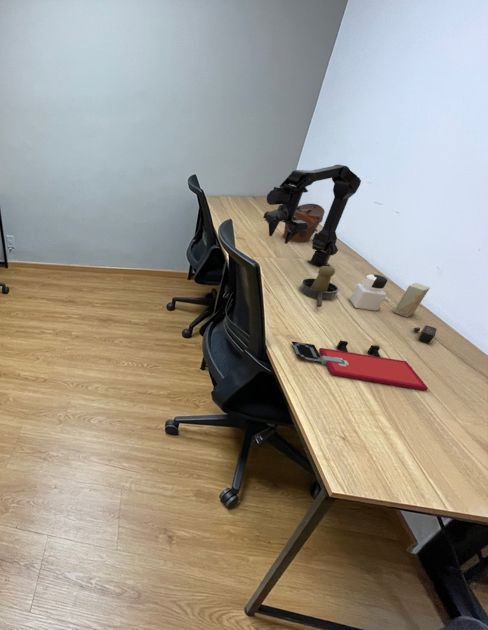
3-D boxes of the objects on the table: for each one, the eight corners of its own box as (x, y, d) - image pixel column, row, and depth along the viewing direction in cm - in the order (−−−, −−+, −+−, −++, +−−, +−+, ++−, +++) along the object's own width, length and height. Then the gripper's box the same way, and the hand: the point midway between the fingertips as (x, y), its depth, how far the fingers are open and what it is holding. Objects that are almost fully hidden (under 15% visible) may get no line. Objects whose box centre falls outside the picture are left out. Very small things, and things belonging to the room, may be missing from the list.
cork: (328, 296, 134) (340, 271, 129) (312, 295, 136) (323, 270, 130) (322, 289, 139) (333, 264, 134) (306, 288, 141) (316, 263, 135)
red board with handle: (288, 340, 110) (301, 370, 98) (291, 333, 109) (305, 363, 97) (397, 356, 104) (425, 391, 92) (402, 349, 102) (431, 384, 90)
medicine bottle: (370, 301, 131) (385, 273, 125) (377, 311, 126) (394, 282, 119) (348, 299, 133) (362, 271, 127) (354, 308, 128) (370, 279, 121)
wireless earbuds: (431, 335, 113) (437, 327, 111) (428, 344, 108) (434, 336, 107) (413, 329, 115) (418, 321, 114) (410, 338, 111) (415, 330, 110)
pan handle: (316, 294, 133) (318, 290, 132) (321, 295, 132) (322, 291, 131) (315, 307, 124) (317, 303, 124) (320, 308, 124) (322, 304, 123)
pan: (300, 283, 145) (303, 276, 143) (334, 290, 139) (338, 282, 137) (299, 295, 136) (302, 287, 134) (335, 303, 131) (339, 295, 129)
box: (406, 317, 122) (423, 290, 116) (392, 312, 125) (408, 285, 119) (413, 313, 124) (430, 287, 118) (399, 308, 127) (415, 282, 121)
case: (279, 242, 186) (291, 209, 176) (276, 231, 202) (286, 200, 192) (317, 246, 180) (331, 213, 171) (310, 234, 196) (322, 203, 186)
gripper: (258, 199, 146) (247, 234, 155) (291, 210, 131) (278, 248, 139) (280, 197, 148) (268, 232, 157) (315, 209, 133) (300, 246, 141)
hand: (277, 239), depth 148 cm, fingers open, 9 cm apart
